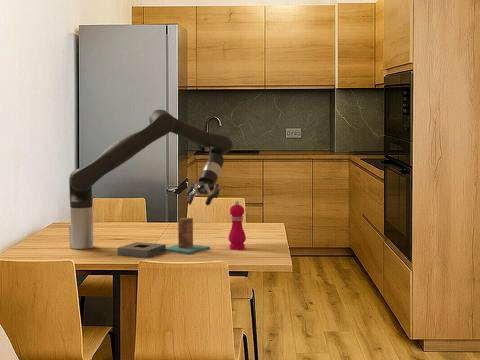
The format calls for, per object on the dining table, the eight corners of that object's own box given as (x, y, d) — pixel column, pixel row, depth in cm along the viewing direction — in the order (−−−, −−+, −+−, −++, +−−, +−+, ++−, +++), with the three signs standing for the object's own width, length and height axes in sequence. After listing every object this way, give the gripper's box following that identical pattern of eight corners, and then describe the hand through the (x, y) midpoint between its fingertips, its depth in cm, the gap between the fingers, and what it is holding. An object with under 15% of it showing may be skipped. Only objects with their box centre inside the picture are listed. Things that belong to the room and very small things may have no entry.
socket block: (117, 255, 307) (117, 247, 307) (136, 249, 320) (136, 242, 320) (147, 258, 301) (147, 250, 301) (165, 251, 314) (165, 244, 314)
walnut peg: (178, 247, 317) (178, 219, 316) (183, 246, 321) (183, 217, 320) (187, 248, 315) (187, 219, 314) (193, 246, 319) (192, 218, 318)
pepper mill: (237, 250, 315) (237, 202, 313) (224, 248, 320) (224, 201, 318) (249, 248, 320) (249, 200, 319) (236, 246, 325) (236, 199, 323)
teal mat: (162, 250, 316) (162, 248, 316) (183, 245, 328) (183, 243, 328) (188, 254, 308) (188, 251, 308) (209, 248, 320) (209, 246, 320)
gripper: (192, 168, 335) (180, 197, 326) (221, 169, 329) (209, 199, 320) (198, 179, 340) (186, 208, 331) (227, 180, 334) (215, 210, 325)
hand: (198, 203), depth 325 cm, fingers open, 8 cm apart
